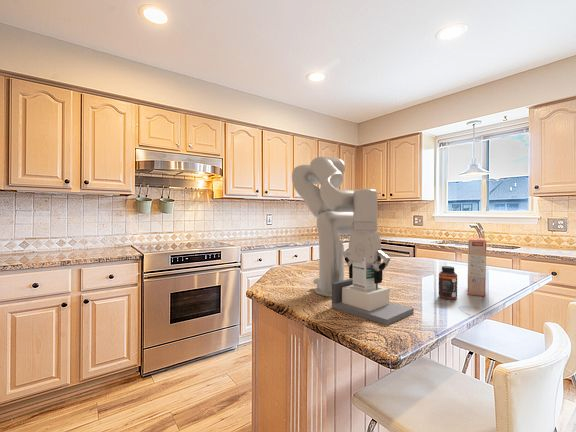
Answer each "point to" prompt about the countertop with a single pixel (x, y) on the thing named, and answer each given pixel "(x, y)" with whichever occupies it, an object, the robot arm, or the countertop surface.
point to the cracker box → (477, 266)
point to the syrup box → (364, 276)
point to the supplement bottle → (448, 283)
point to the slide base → (379, 315)
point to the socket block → (365, 298)
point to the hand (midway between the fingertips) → (364, 280)
